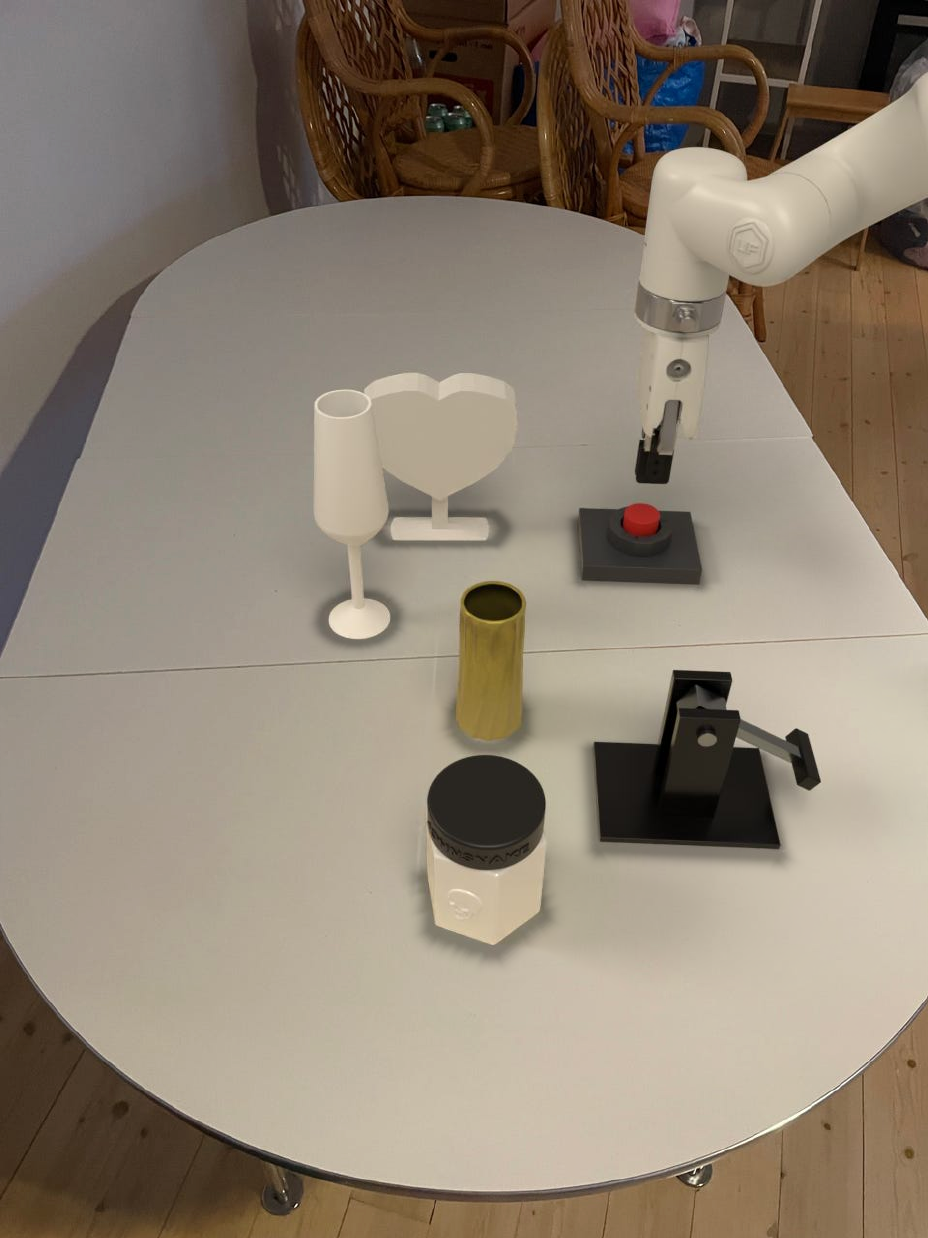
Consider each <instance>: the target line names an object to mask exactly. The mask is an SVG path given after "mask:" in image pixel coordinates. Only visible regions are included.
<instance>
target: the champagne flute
mask: <svg viewBox="0 0 928 1238" xmlns="http://www.w3.org/2000/svg"><path fill="white" fill-rule="evenodd" d="M313 407H314V408H313V409H314V411H313V412H314V415H313V416H314V417H313V422H314V423H313V427H314V428H313V518H314V521H315V523H316V525H317V527H318V528H319V529H320V530H321V531H322V532H323V533H324V534H325V535H326V536H327V537H329V539H332V540H334V541H335V542H339V543H341V544H342V545H345V546H347V555H348V568H349V580H350V581H349V582H350V593H351V599H347V600H344V601H343V602H340V603H339V604H337V605H336V606H335V607H334V608H333V609H332V610H331V611H330V613H329V615H328V624H329V627H330V628H331V630H332V631H333V632H334V633H335V634H337V635H338V636H340V637H343V638H346V639H352V640H365V639H369V638H372V637H375V636H377V635H379V634H381V633H382V632H384V631H385V630H386V629H387V628H388V627H389V624H390V622H391V613H390V610H389V609H388V608H387V606H386V605H385V604H383V603H382V602H380V601H378V600H375V599H372V598H367V597H366V598H365V591H364V579H363V578H364V577H363V565H362V551H361V550H362V549H361V545H362V544H364V543H366V542H368V541H369V540H371V539H372V538H374V537H375V536H376V535H377V534H378V533H379V532H380V531H381V530H382V529H383V527H384V525H385V523H386V522H387V520H388V516H389V510H390V509H389V501H388V496H387V490H386V484H385V479H384V478H385V477H384V472H383V468H382V464H381V458H380V452H379V446H378V440H377V433H376V427H375V421H374V415H373V408H372V402H371V399H370V398H369V397H368V396H367V395H366V394H364V392H361V391H358V390H354V389H336V390H331V391H328V392H325V393H323V394H321V395H320V396H318V397H317V398H316V399H315V401H314V405H313Z"/></svg>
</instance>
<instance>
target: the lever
mask: <svg viewBox="0 0 928 1238" xmlns="http://www.w3.org/2000/svg"><path fill="white" fill-rule="evenodd" d="M676 704H677V710H678V709H679V708H693V709H719V710H728V709H727V704H726V703H725V699H724V698H723V697H721V696H719V695H717V694H715V693H713V692H711V691H709V690H706V689H704V688H702V687H700V686H698V685H695V686H694V687H693V688H691V689H690V690H689V691H688V692H687V693H686V694H685V695H684V696H683V697H682V698H681V699H680V700H678V701H677V703H676ZM809 735H810V734H808V733H807V732H805V731H803V730H801V729H799V728H797V727H795V728H794V729H792V730H791V731H790V732H789V733H788V734H786V735H785V736H784V738H785V739H783V738H781V737H779V736H777V735H775V734H773V733H771V732H769V731H767V730H764V729H763V728H761V727H759V726H756V725H754V724H752V723H750V722H748V721H746V720H743V719H742V718H741V721H740V725H739V728H738V732H737V736H736V739H738V740H741V741H743V742H745V743H747V744H749V745H751V746H753V747H755V748H759V750H762V751H763V752H766V753H768V754H770V755H773V756H775V757H777V758H779V759H781V760H782V761H785V762H786V763H787V762H788V763H790V764H791V767H792V770H793V774H794V779H795V782H796V785H797V786H798V787H800V788H802V789H804V790H807V791H812V790H813V789H814V788H816V787H817V786H818V785H819V784H821V783H822V780H821V776H820V773H819V769H818V764H817V761H816V758H815V754H814V750H813V746H812V743H811V740H810V736H809Z"/></svg>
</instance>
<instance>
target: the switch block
mask: <svg viewBox="0 0 928 1238" xmlns="http://www.w3.org/2000/svg"><path fill="white" fill-rule="evenodd" d="M628 506H629V505H627V506H624V507H621V508H594V507H593V508H592V507H579V508H578V517H577V529H578V531H577V532H578V544H579V545H578V549H579V562H580V575H581V582H583V581H584V582H586V581H587V582H611V583H638V584H663V585H664V584H667V585H694V586H697V585H698V586H699V585H700V582H701V578H702V577H701V576H702V572H703V567H702V562H701V558H700V553H699V548H698V543H697V537H696V532H695V528H694V523H693V518H692V513H691V511H682V510H681V511H680V510H659V509H657V510H658V511H659V513H660V519H659V525H658V530H657V532H656V533H655V534H653V535H650V536H636V535H633V534H631V533H628V532H626V531H625V529H624V527H623V520H624V513H625V509H626V508H627V507H628Z"/></svg>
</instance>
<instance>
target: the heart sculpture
mask: <svg viewBox="0 0 928 1238" xmlns="http://www.w3.org/2000/svg"><path fill="white" fill-rule="evenodd" d="M515 392H516V391H515V389H514V388H513V387H512V386H511V385H510V384H509V383H507V382H505V380H502V379H498V378H495V377H492V376H489V375H485V374H484V375H483V374H478V373H474V372H472V373H471V372H459V373H456V374H452V375H450V376H449V377H447V378H445V379H442V380H441V381H438V380H435V379H434V378H432V377H431V376H429V375H426V374H424V373H421V372H403V373H398V374H393V375H388V376H385V377H382V378H378V379H376V380H373V381H372V382H371V383H370V384H368V385H367V386H366V387H365V388H364V391H363V393H364V394H366V395H367V396H368V397H369V398H370V399H371V402H372V408H373V415H374V421H375V427H376V433H377V440H378V446H379V452H380V458H381V464H382V470H385V471H386V472H388V473H389V474H391V475H392V476H393V477H395V478H396V479H398V480H400V481H401V482H402V483H404V484H407V485H408V486H410V487H412V488H414V489H416V490H418V491H421V492H422V493H425V495H429V496H430V497H431V516H426V517H425V516H395V517H394V518H393V519H392V522H391V524H390V528H389V530H390V534H391V539H392V540H393V541H487V539H488V537H489V535H490V524H489V522H488V519H487V518H486V517H483V516H482V517H477V516H474V517H473V516H472V517H471V516H469V517H466V516H465V517H464V516H460V517H459V516H457V517H456V516H455V517H453V516H449V511H448V510H449V496H452V495H453V494H455V493H458V492H459V491H461V490H463V489H465V488H467V487H469V486H471V485H473V484H475V483H477V482H478V481H480V480H481V479H483V478H485V477H486V476H487V475H489V474H490V473H492V472H494V471H495V470H496V469H497V468H499V466H500V465H501V464H502V463H503V461H504V460H505V459H506V457H507V456H508V455H509V453H510V452H511V451H512V450H513V448H514V445H515V440H516V437H517V432H518V427H519V419H518V408H517V401H516V399H517V398H516V393H515Z"/></svg>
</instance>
